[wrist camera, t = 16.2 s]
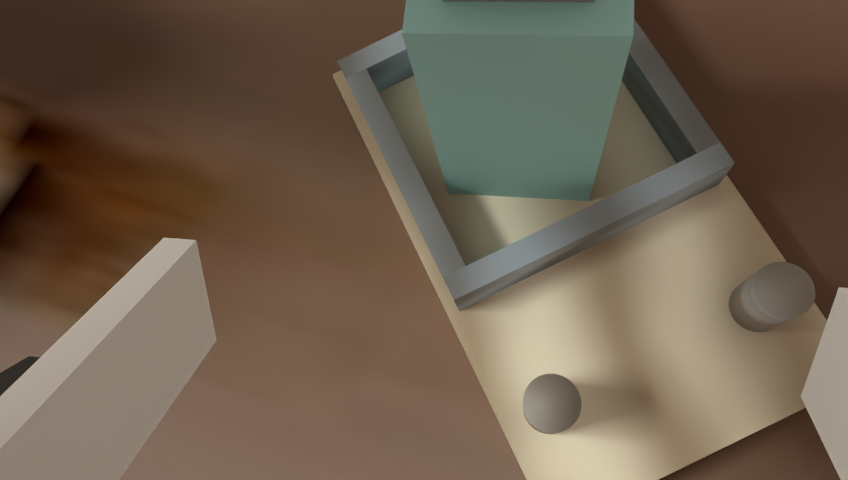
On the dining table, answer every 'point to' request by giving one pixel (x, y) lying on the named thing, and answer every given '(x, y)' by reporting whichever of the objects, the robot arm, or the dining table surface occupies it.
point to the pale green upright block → (519, 90)
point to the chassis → (603, 282)
